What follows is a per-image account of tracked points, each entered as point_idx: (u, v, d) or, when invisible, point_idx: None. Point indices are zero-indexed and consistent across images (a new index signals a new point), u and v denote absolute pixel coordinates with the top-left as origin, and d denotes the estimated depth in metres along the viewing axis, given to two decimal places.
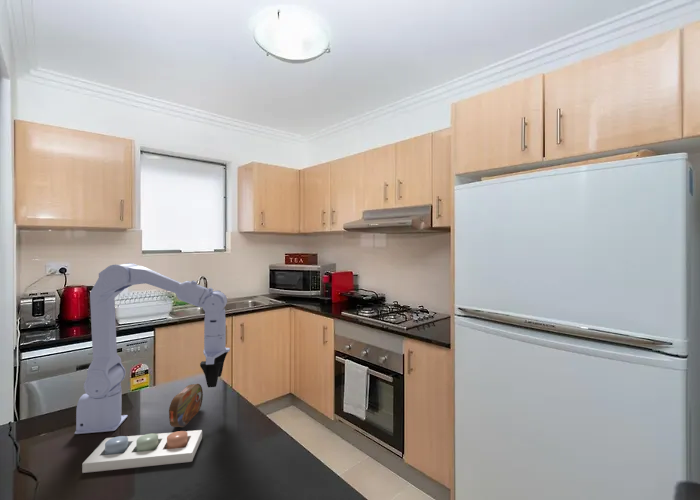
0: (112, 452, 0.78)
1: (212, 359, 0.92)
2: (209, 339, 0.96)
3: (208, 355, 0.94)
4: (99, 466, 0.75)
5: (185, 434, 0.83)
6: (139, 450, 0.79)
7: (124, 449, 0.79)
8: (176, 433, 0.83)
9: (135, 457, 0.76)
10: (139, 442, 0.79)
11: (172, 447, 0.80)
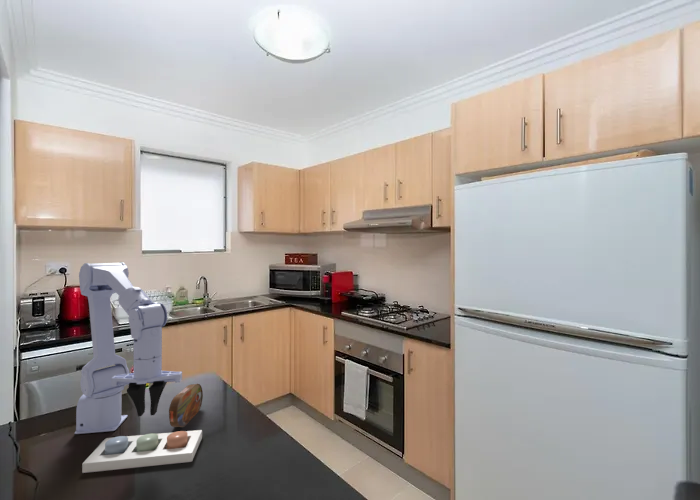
0: (112, 452, 0.78)
1: None
2: None
3: None
4: (99, 466, 0.75)
5: (185, 434, 0.83)
6: (139, 450, 0.79)
7: (124, 449, 0.79)
8: (176, 433, 0.83)
9: (135, 457, 0.76)
10: (139, 442, 0.79)
11: (172, 447, 0.80)
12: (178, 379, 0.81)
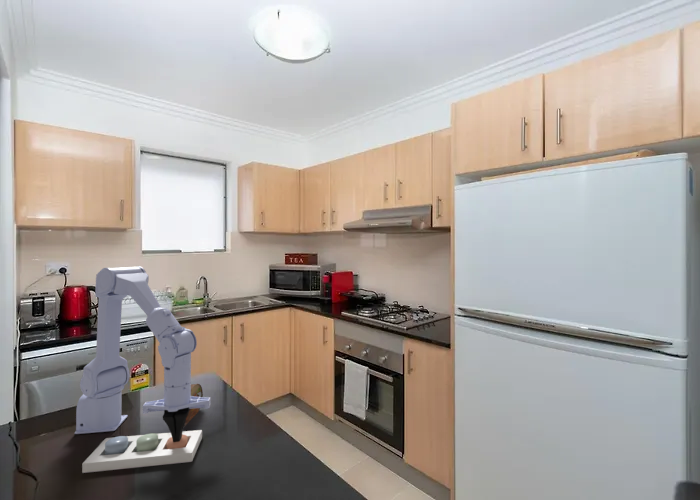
0: (112, 452, 0.78)
1: None
2: None
3: (156, 402, 0.82)
4: (99, 466, 0.75)
5: (185, 438, 0.83)
6: (139, 450, 0.79)
7: (124, 449, 0.79)
8: None
9: (135, 457, 0.76)
10: (139, 442, 0.79)
11: None
12: (207, 405, 0.82)
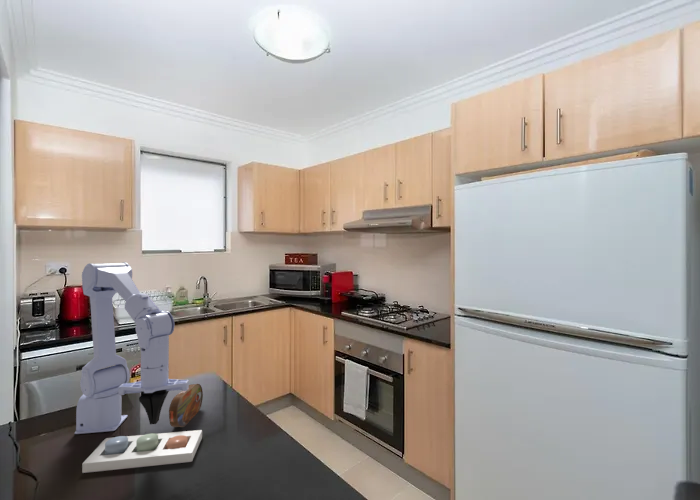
0: (112, 452, 0.78)
1: None
2: None
3: (133, 384, 0.81)
4: (99, 466, 0.75)
5: (185, 439, 0.83)
6: (139, 450, 0.79)
7: (124, 449, 0.79)
8: (176, 437, 0.83)
9: (135, 457, 0.76)
10: (139, 442, 0.79)
11: None
12: (185, 388, 0.82)
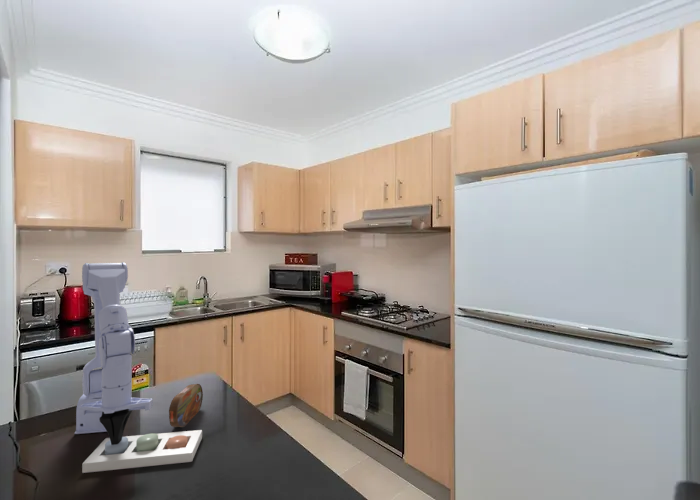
0: (112, 453, 0.78)
1: None
2: None
3: None
4: (99, 466, 0.75)
5: (185, 439, 0.83)
6: (139, 450, 0.79)
7: (124, 450, 0.79)
8: (176, 437, 0.83)
9: (135, 457, 0.76)
10: (139, 442, 0.79)
11: None
12: (148, 407, 0.80)
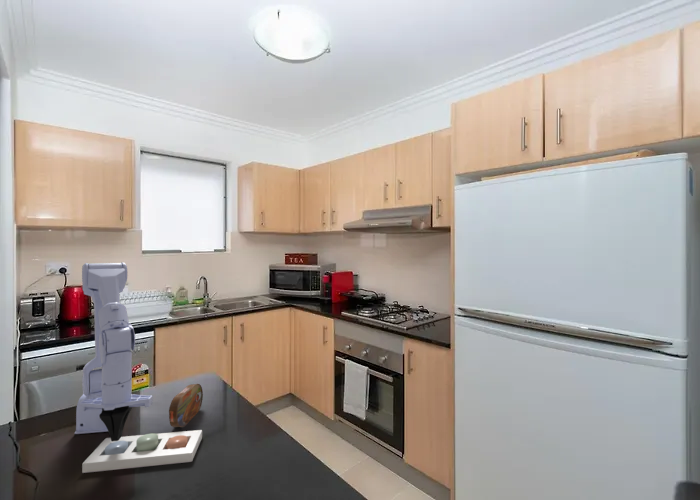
0: None
1: None
2: None
3: None
4: (99, 466, 0.75)
5: (185, 439, 0.83)
6: (139, 450, 0.79)
7: None
8: (176, 437, 0.83)
9: (135, 457, 0.76)
10: (139, 442, 0.79)
11: None
12: (148, 404, 0.80)
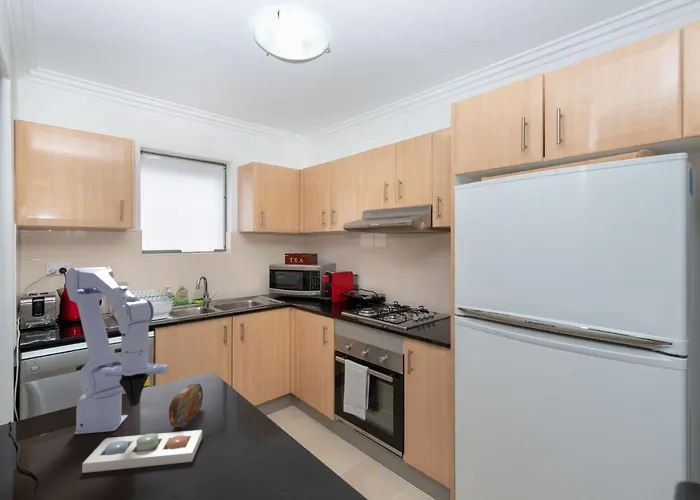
0: None
1: None
2: None
3: None
4: (99, 466, 0.75)
5: (185, 439, 0.83)
6: (139, 450, 0.79)
7: None
8: (176, 437, 0.83)
9: (135, 457, 0.76)
10: (139, 442, 0.79)
11: None
12: (164, 372, 0.86)
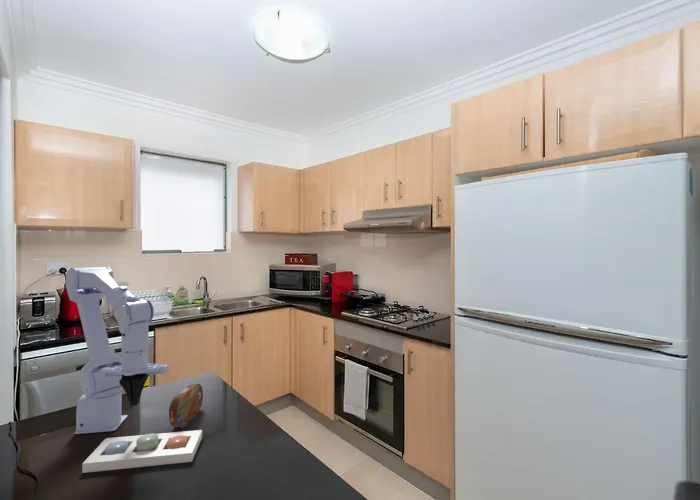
0: None
1: None
2: None
3: None
4: (99, 466, 0.75)
5: (185, 439, 0.83)
6: (139, 450, 0.79)
7: None
8: (176, 437, 0.83)
9: (135, 457, 0.76)
10: (139, 442, 0.79)
11: None
12: (164, 372, 0.86)
